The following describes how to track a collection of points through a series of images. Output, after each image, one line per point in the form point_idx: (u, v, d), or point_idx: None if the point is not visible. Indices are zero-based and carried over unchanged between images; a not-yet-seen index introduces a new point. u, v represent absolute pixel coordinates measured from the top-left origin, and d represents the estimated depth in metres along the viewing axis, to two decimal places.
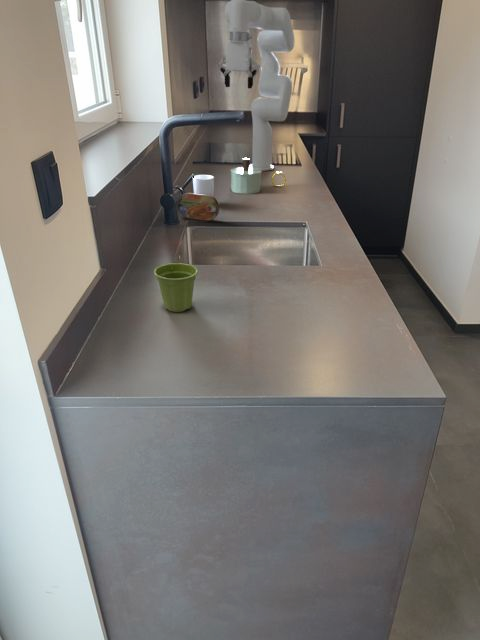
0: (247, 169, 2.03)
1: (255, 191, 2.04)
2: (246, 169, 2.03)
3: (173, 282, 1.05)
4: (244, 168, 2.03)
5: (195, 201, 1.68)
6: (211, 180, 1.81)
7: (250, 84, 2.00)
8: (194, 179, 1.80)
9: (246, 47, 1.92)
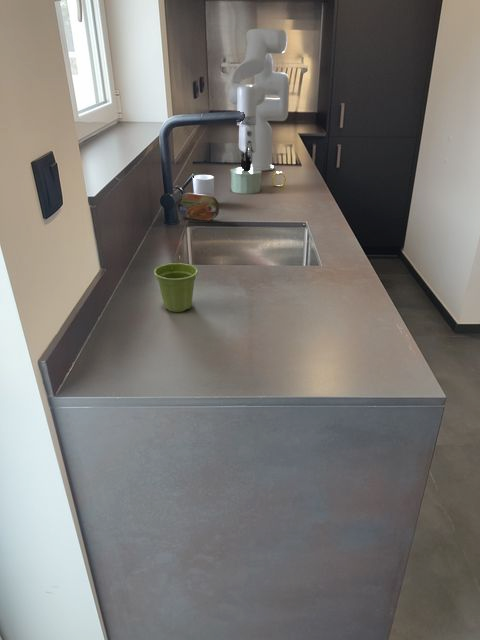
0: None
1: (255, 191, 2.04)
2: None
3: (173, 282, 1.05)
4: None
5: (195, 201, 1.68)
6: (211, 180, 1.81)
7: (245, 167, 2.01)
8: (194, 179, 1.80)
9: (243, 130, 1.92)
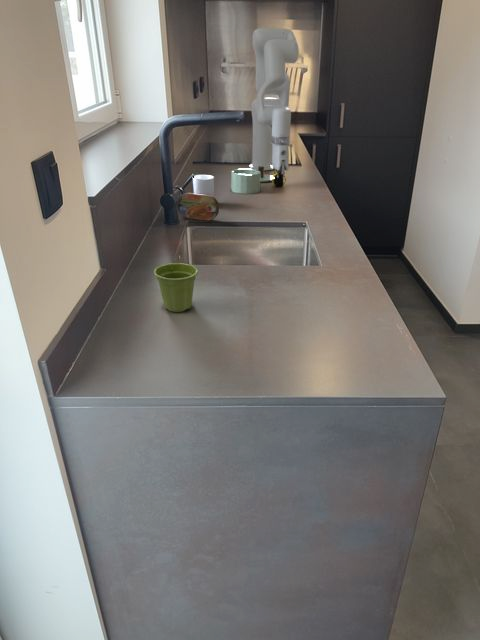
0: (262, 176, 2.25)
1: (255, 191, 2.04)
2: (261, 176, 2.25)
3: (173, 282, 1.05)
4: None
5: (195, 201, 1.68)
6: (211, 180, 1.81)
7: (277, 183, 2.14)
8: (194, 179, 1.80)
9: (278, 150, 2.05)
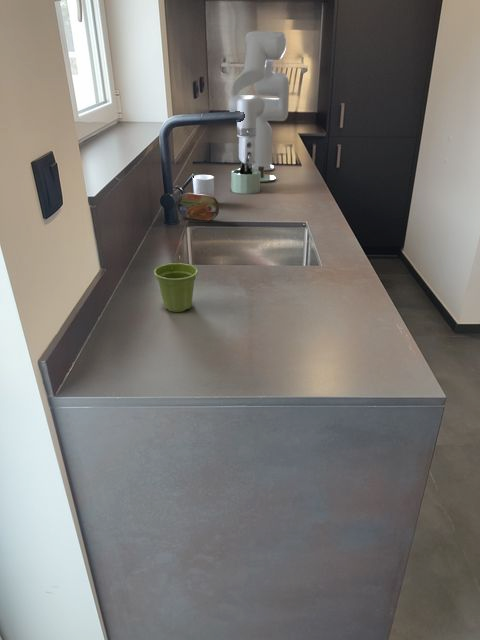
0: (262, 176, 2.25)
1: (255, 191, 2.04)
2: (261, 176, 2.25)
3: (173, 282, 1.05)
4: None
5: (195, 201, 1.68)
6: (211, 180, 1.81)
7: None
8: (194, 179, 1.80)
9: (243, 142, 1.95)
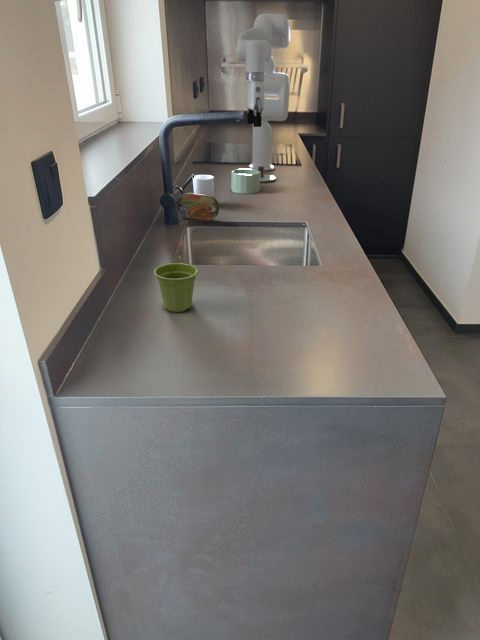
0: (262, 176, 2.25)
1: (255, 191, 2.04)
2: (261, 176, 2.25)
3: (173, 282, 1.05)
4: None
5: (195, 201, 1.68)
6: (211, 180, 1.81)
7: (255, 123, 1.97)
8: (194, 179, 1.80)
9: (252, 86, 1.92)
